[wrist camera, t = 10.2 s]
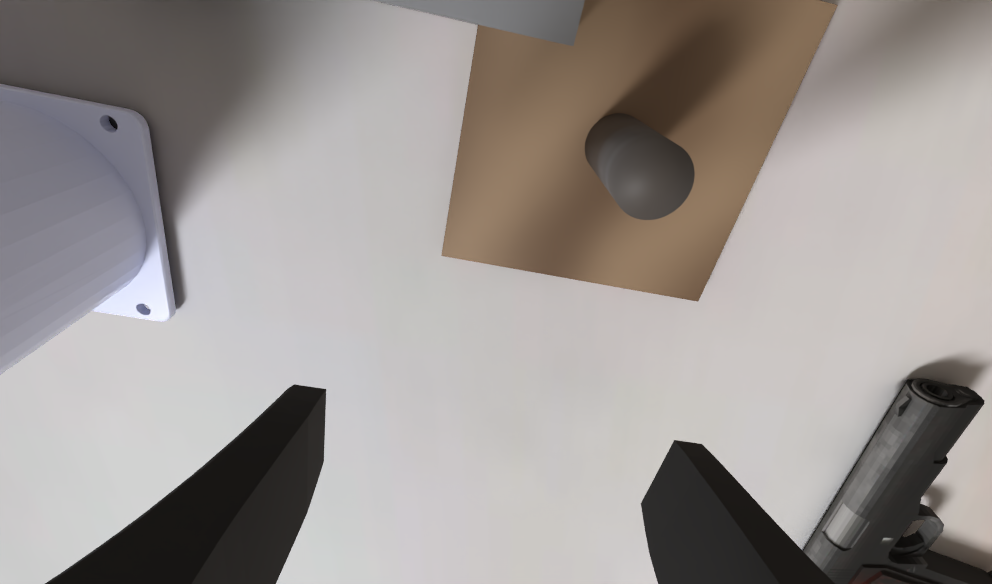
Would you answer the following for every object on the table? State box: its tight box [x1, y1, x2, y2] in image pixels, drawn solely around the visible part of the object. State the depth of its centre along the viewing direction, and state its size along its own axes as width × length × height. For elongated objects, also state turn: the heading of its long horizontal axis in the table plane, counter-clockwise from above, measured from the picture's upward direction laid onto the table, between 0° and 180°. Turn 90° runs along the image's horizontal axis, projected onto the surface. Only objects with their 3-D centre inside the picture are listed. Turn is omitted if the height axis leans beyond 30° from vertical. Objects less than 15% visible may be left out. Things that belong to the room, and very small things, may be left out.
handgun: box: [803, 379, 992, 584], centre depth 25 cm, size 2×18×12 cm
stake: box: [442, 0, 837, 301], centre depth 14 cm, size 10×10×5 cm
